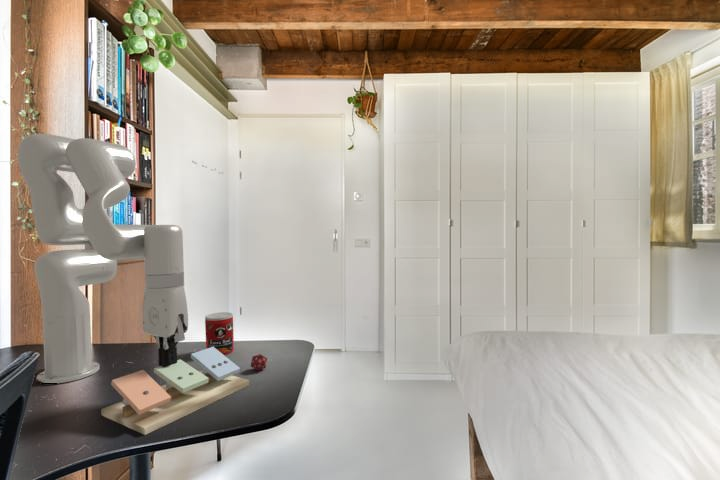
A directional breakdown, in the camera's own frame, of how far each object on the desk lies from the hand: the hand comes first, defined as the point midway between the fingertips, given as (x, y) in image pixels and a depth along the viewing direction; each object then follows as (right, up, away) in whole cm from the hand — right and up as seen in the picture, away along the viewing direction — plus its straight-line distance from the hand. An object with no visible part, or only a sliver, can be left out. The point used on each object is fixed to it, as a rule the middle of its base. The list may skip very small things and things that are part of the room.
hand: (168, 365), depth 83 cm
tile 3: (+8, -2, +5) cm, 10 cm away
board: (+4, -7, -2) cm, 8 cm away
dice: (+16, -6, +14) cm, 22 cm away
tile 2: (+4, -3, -2) cm, 5 cm away
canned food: (+1, -6, +29) cm, 29 cm away
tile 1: (-1, -3, -9) cm, 10 cm away
